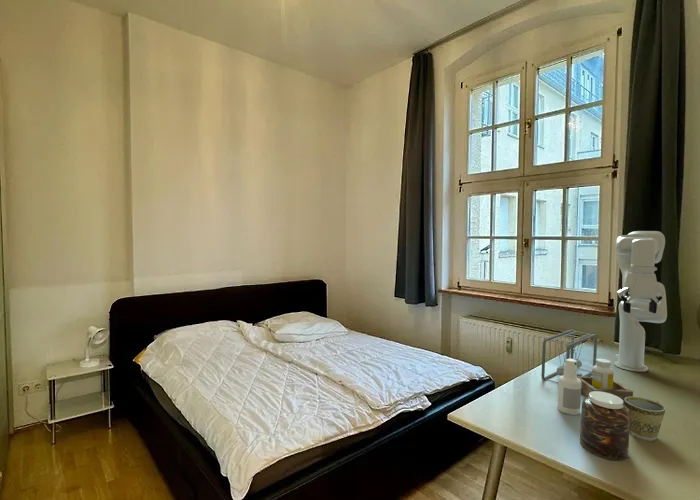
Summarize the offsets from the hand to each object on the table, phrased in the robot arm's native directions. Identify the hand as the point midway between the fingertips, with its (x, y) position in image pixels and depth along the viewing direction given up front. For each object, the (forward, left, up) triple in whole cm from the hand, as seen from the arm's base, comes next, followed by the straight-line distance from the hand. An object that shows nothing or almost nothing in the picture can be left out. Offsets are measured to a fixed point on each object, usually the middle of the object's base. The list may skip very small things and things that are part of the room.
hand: (639, 312), depth 152 cm
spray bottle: (+23, -38, -31) cm, 54 cm away
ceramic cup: (+37, -22, -31) cm, 53 cm away
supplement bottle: (+10, -19, -30) cm, 37 cm away
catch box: (+10, -19, -31) cm, 38 cm away
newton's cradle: (-9, -21, -31) cm, 39 cm away
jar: (+46, -40, -31) cm, 69 cm away
